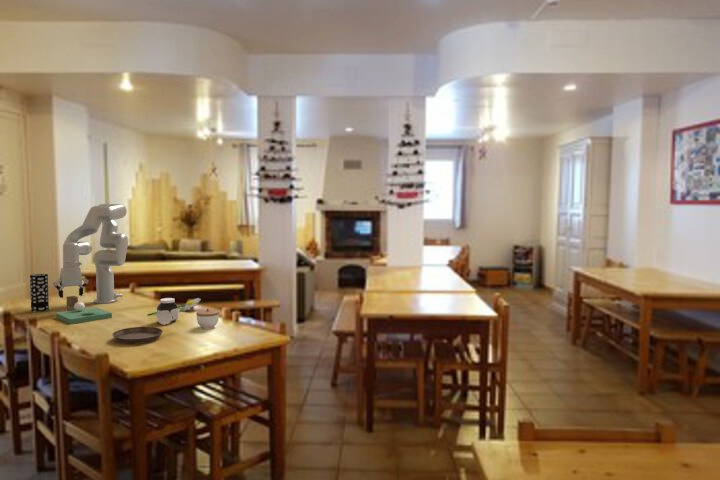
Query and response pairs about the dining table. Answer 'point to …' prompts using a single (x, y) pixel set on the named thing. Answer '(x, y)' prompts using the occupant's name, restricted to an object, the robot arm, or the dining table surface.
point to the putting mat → (83, 315)
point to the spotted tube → (39, 292)
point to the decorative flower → (186, 305)
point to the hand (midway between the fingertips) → (71, 296)
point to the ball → (79, 306)
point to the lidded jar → (207, 318)
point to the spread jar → (167, 311)
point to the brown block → (71, 302)
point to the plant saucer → (137, 335)
